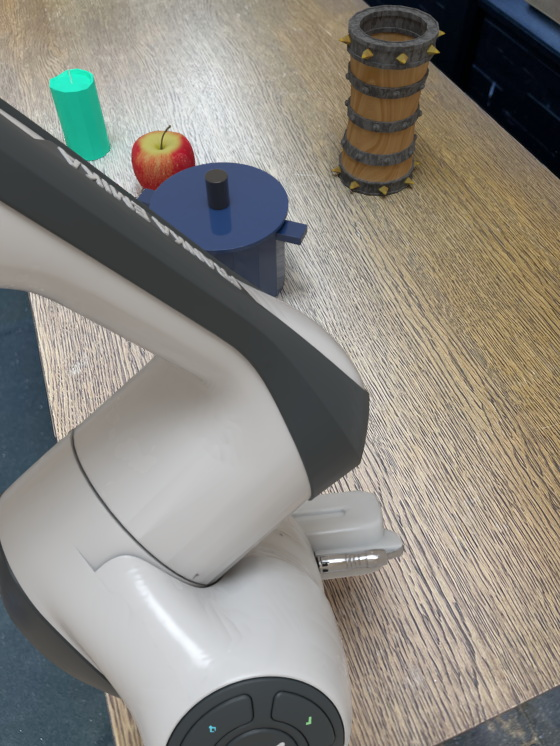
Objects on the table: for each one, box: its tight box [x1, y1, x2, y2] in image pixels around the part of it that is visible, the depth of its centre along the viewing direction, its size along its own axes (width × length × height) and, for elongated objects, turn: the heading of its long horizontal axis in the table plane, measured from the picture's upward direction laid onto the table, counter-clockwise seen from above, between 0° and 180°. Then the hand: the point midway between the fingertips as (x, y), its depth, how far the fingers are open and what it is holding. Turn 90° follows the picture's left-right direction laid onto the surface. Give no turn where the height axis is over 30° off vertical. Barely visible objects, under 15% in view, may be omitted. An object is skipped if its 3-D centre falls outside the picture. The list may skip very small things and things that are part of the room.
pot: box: [136, 188, 309, 299], centre depth 74 cm, size 14×19×10 cm
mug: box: [330, 4, 446, 197], centre depth 84 cm, size 13×17×20 cm
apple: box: [130, 124, 196, 190], centre depth 85 cm, size 8×8×10 cm
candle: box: [48, 68, 111, 162], centre depth 90 cm, size 6×6×12 cm
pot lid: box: [149, 161, 290, 254], centre depth 69 cm, size 15×15×5 cm
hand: (240, 504), depth 53 cm, fingers closed
